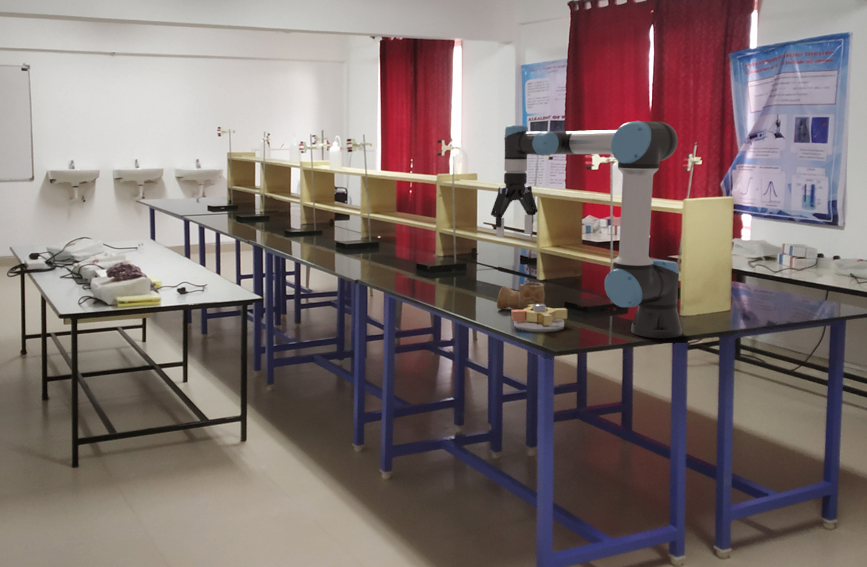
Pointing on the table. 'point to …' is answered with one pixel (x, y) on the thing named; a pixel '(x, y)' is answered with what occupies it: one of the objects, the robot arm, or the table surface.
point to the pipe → (521, 296)
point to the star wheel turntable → (539, 327)
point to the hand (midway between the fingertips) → (514, 235)
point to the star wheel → (539, 315)
